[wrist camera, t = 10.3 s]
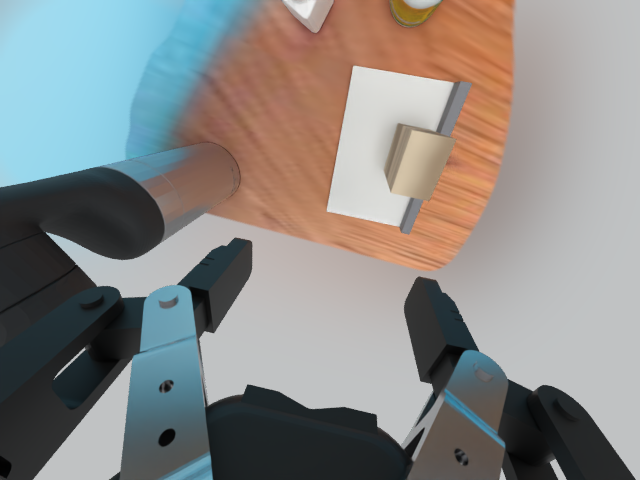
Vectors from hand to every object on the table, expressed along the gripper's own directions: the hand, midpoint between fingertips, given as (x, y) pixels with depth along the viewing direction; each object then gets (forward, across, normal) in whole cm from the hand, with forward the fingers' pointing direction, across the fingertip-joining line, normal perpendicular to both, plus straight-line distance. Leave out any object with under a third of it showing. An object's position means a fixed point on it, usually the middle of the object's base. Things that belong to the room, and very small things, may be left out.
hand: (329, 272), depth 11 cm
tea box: (+25, -7, -3) cm, 26 cm away
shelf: (+27, -5, -2) cm, 27 cm away
